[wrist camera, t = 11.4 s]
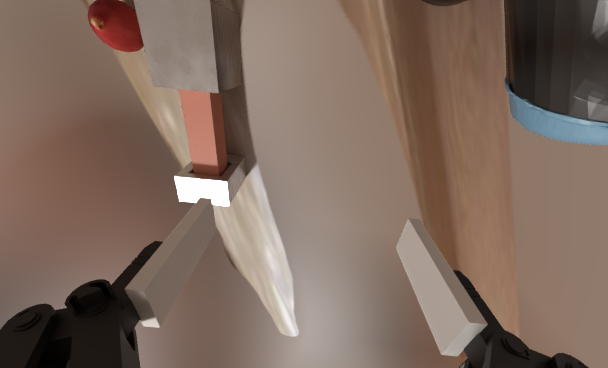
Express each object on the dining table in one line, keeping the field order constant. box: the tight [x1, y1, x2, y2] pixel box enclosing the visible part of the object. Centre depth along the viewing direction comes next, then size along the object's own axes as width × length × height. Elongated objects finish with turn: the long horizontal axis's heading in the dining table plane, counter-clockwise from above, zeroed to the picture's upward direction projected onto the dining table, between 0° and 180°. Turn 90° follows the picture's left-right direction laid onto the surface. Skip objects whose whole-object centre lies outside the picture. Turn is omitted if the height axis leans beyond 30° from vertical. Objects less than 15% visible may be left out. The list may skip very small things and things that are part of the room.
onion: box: [88, 0, 144, 52], centre depth 29 cm, size 6×6×8 cm
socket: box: [174, 154, 246, 206], centre depth 38 cm, size 4×8×10 cm, turn 85°
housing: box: [134, 0, 242, 93], centre depth 29 cm, size 9×8×10 cm
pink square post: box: [179, 89, 228, 176], centre depth 34 cm, size 18×4×4 cm, turn 175°
